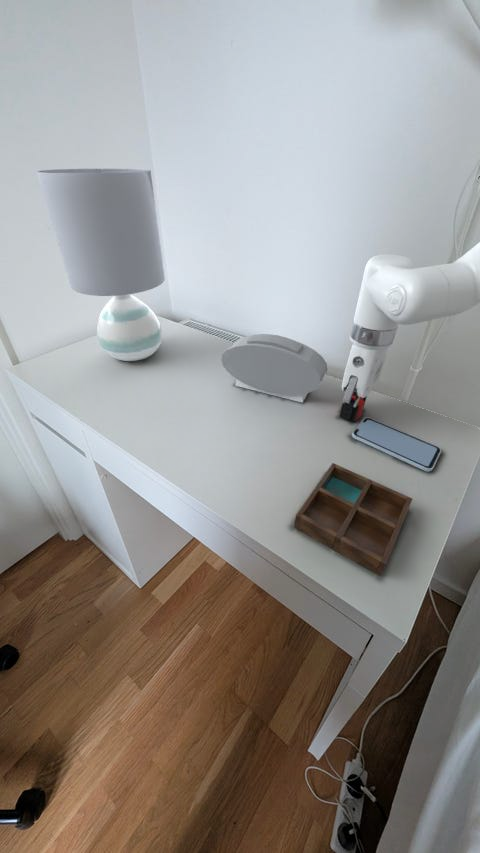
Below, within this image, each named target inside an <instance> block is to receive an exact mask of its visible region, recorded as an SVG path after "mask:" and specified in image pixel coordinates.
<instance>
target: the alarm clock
mask: <svg viewBox="0 0 480 853" xmlns="http://www.w3.org/2000/svg"><path fill="white" fill-rule="evenodd" d="M220 362H221V364H222V367H223V368H224V370H225V371H226V372H227V373H228V374H229V375H230V376H232V377H233V378H234V379H236V380H235V384H234V386H236V387H239V388H243V389H247V390H251V391H255V392H259V393H263V394H267V395H271V396H274V397H279V398H283V399H287V400H290V401H295V402H299V403H304V401H305V399H306V398H307V396H308V394H309V393H312V392H314V391H316V390H317V389H318V388H319V387H320V385H321V384H322V381H323V379H324V378H325V375H326V374H327V372H328V364H327V362H326V360H325V358H324V357H323V356H322V355H321V354H320V353H319V352H318V351H316V350H315V349H313V348H311V347H310V346H309V345H306V344H304V343H302V342H299V341H296V340H294V339H292V338H288V337H286V336H282V335H279V334H278V335H277V334H271V333H270V334H269V333H259V334H258V333H257V334H251V335H246V336H243V337H241V338H239V339H237V340H236V341H235V342H234V343H233V344H232V345H230V347H228V348H227V349H226V350H225V352H223V353H222V354H221V359H220Z"/></svg>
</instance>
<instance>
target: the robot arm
mask: <svg viewBox="0 0 480 853" xmlns="http://www.w3.org/2000/svg"><path fill="white" fill-rule="evenodd" d="M363 270H364V271H363V276H362V279H361V285H360V289H359V293H358V298H357V303H356V307H355V312H354V315H353V321H352V324H351V329H350V334H349V340H350V341H351V342H352V346H351V348H350V352H349V355H348V358H347V362H346V366H345V369H344V373H343V377H342V383H341V391H342V392H344V394H343V397H342V403H341V406H340V412H339V418H341V419H343V420H345V421H348V422H351V423H354V422H355V421H356V420H357V419H356V415H357V411H358V408H359V406H358V402H359V399H360V397H361V398H362V399H363V400H364V402H365V403H364V406H363V409H365V408H364V407H365V406H366V405H365V404H366V401H367V397H368V396H369V395H370V393H371V392H372V391H373V389H374V388H375V387H376V385H377V384H378V382H379V381H380V379H381V376H382V372H383V369H384V364H385V360H386V357H387V352H388V349H389V348H390V347H392V345H393V344H394V340H395V337H396V333H397V331H398V327H399V325H404V326H407V325H415V324H420V323H425V322H429V321H433V320H436V319H441V318H445V317H447V318H448V317H452V316H456V315H459V314H462V313H465V312H466V311H468V310H471V309H472V308H474V307H475V306H477V305H479V304H480V241H479V242H478V243H477V244H475V245H474V246H473V247H472V248H470V249H469V250H467V251H466V253H464V254H463V255H462V256H461V257H459V258H458V259H456V260H455V261H453V262H451V263H443V264H437V265H429V266H425V267H424V266H423V267H416V264H415V262H414V260H413V259H411V258H410V257H408V256H404V255H400V254H391V253H385V254H376V255H374V256H372V257H370V258H369V259H368V260H367V262H366V265H365V267H364V269H363ZM353 395H354V396H356V399H354V398H352V396H353Z"/></svg>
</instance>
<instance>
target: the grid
mask: <svg viewBox="0 0 480 853" xmlns="http://www.w3.org/2000/svg"><path fill="white" fill-rule="evenodd" d="M412 502H413V498H412V497H410V496H408V495H406V494H403V493H401V492H399V491H397V490H395V489H393V488H390V487H388V486H386V485H383V484H381V483H379V482H377V481H374V480H372V479H371V478H368V477H366V476H363V475H361V474H359V473H356V472H354V471H352V470H350V469H347V468H345V467H344V466H342V465H338V464H337V463H334V462H332V463H331V465H330V466H329V468H328V469H327V471H326V472H325V473H324V475H323V476H322V478H321V479H320V480H319V482H318V483H317V484H316V486H315V487H314V489H313V490H312V492H311V493H310V494H309V496H308V497H307V499H306V500H305V502H304V503H303V505H302V506H301V507H300V509H299V511H298V512H297V513H296V515H295V519H294V526H293V528H294V529H296V530H298V531H300V532H301V533H303V534H305V535H306V536H308V537H310V538H312V539H314V540H315V541H316V542H319V543H321V544H322V545H324V546H326V547H327V548H329V549H331V550H333V551H334V552H337V553H338V554H340V555H341V556H344V557H345V558H347V559H349V560H350V561H352V562H354V563H355V564H357V565H359V566H361V567H363V568H364V569H366V570H368V571H370V572H371V573H373V574H375V575H376V576H378V577H381V575H382V574H383V571H384V570H385V568H386V567H387V564H388V562H389V559H390V557H391V554H392V552H393V549H394V547H395V544H396V542H397V539H398V537H399V533H400V532H401V529H402V527H403V524H404V521H405V520H406V517H407V514H408V512H409V509H410V507H411V504H412Z"/></svg>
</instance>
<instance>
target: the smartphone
mask: <svg viewBox="0 0 480 853" xmlns="http://www.w3.org/2000/svg"><path fill="white" fill-rule="evenodd" d="M351 437H352V438H353V439H355V440H357V441H358V442H361V443H363V444H366V445H368V446H370V447H373V448H374V449H376V450H379V451H381V452H383V453H385V454H388V455H389V456H391V457H393V458H396V459H398V460H400V461H402V462H405V463H407V464H409V465H411V466H413V467H416V468H418V469H420V470H422V471H424V472H428V473H429V472H432V471H433V469H434V468H435V465H436V463H437V461H438V459H439V457H440V455H441V453H442V449H441V447H439V446H438V445H435V444H433V443H431V442H429V441H427V440H424V439H422V438H420V437H417V436H415V435H412V434H410V433H407V432H405V431H403V430H401V429H397V428H395V427H393V426H390V425H388V424H386V423H383V422H382V421H379V420H376V419H374V418H373V417H363V419H362V420H361V421H360V422H359V424H358V425H357V426H356V427H355V428H354V430H353V431H352V433H351Z"/></svg>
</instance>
